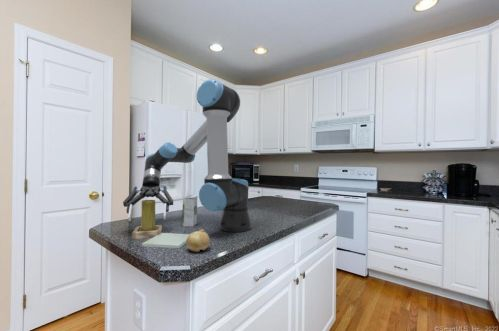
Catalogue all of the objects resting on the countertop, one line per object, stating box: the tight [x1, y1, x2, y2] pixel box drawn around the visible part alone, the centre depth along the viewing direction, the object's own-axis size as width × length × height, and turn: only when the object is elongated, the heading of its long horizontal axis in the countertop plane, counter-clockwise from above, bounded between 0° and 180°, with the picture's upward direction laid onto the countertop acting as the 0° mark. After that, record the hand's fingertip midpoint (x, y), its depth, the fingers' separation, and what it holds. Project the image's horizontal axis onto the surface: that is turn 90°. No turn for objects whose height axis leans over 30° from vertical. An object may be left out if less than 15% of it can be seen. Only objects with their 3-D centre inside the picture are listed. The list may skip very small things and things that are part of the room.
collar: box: [131, 224, 163, 240], centre depth 99 cm, size 10×10×2 cm
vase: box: [140, 199, 156, 231], centre depth 99 cm, size 6×6×14 cm
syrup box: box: [181, 194, 198, 228], centre depth 116 cm, size 6×6×14 cm
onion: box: [185, 227, 211, 253], centre depth 82 cm, size 8×8×7 cm
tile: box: [141, 232, 191, 249], centre depth 91 cm, size 14×14×1 cm
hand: (147, 218), depth 98 cm, fingers open, 13 cm apart
